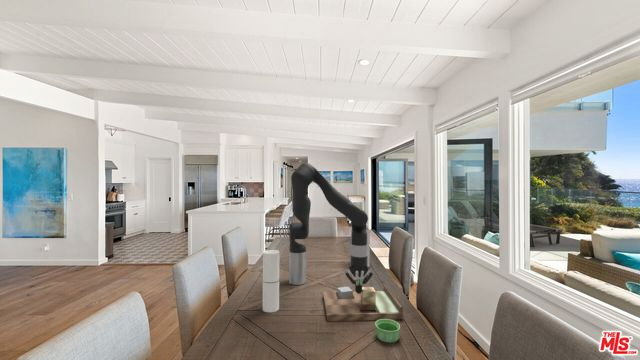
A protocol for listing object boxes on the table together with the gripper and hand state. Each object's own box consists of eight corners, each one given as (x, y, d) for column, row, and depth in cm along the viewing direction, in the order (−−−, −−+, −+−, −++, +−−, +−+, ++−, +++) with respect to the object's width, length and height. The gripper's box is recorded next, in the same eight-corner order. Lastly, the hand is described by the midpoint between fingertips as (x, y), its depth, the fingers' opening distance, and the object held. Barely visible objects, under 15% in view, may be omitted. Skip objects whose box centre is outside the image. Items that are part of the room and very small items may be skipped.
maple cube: (363, 304, 122) (363, 291, 122) (360, 299, 127) (361, 287, 127) (375, 304, 122) (375, 291, 122) (372, 298, 127) (372, 287, 127)
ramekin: (383, 327, 107) (383, 316, 107) (404, 337, 101) (404, 324, 101) (369, 336, 101) (370, 324, 101) (391, 347, 95) (391, 334, 95)
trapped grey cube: (341, 304, 128) (341, 292, 128) (337, 299, 133) (337, 287, 133) (352, 302, 129) (352, 290, 130) (347, 297, 135) (347, 286, 135)
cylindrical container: (265, 313, 117) (265, 254, 118) (260, 307, 124) (261, 250, 124) (281, 310, 121) (281, 252, 121) (275, 303, 127) (276, 249, 127)
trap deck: (327, 321, 112) (327, 308, 112) (323, 296, 136) (323, 286, 136) (402, 319, 113) (402, 307, 114) (385, 295, 137) (385, 285, 137)
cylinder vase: (370, 269, 179) (371, 230, 179) (351, 269, 179) (351, 230, 179) (367, 263, 191) (368, 227, 192) (349, 263, 191) (350, 227, 192)
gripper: (345, 256, 120) (345, 296, 120) (375, 256, 121) (375, 296, 121) (343, 252, 128) (342, 289, 128) (371, 252, 129) (371, 289, 128)
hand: (358, 292), depth 124 cm, fingers closed
